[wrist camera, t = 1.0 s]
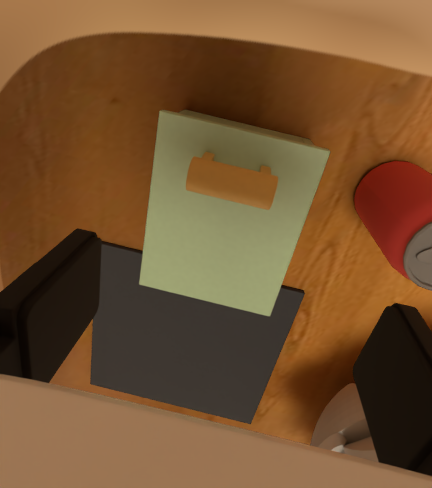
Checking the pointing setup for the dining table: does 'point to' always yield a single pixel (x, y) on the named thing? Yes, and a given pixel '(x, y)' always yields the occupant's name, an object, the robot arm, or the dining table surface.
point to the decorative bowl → (345, 426)
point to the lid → (225, 211)
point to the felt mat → (183, 342)
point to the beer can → (400, 217)
